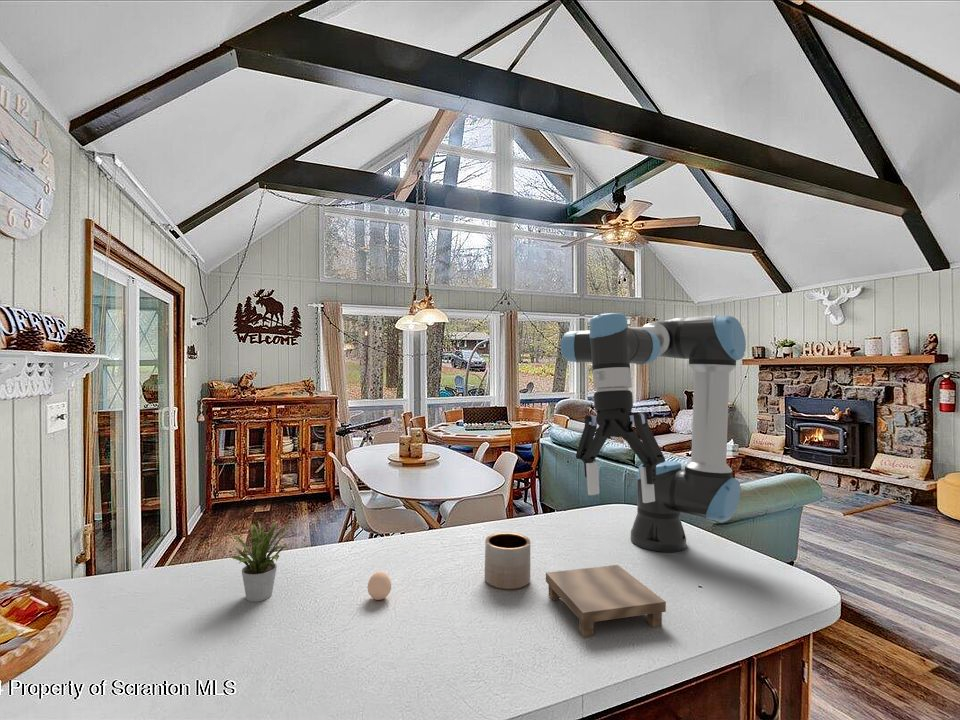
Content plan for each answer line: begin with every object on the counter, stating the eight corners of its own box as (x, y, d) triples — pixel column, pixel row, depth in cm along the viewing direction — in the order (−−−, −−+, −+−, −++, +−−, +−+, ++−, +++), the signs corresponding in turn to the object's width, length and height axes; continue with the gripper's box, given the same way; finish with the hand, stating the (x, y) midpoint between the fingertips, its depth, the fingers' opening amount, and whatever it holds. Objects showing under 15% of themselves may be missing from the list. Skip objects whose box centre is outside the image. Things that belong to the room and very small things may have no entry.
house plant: (313, 589, 113) (314, 517, 113) (263, 618, 101) (264, 537, 101) (267, 577, 119) (267, 508, 119) (214, 602, 107) (215, 526, 107)
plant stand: (617, 586, 117) (617, 564, 117) (665, 626, 100) (665, 601, 100) (545, 594, 112) (545, 572, 112) (582, 639, 95) (583, 612, 95)
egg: (365, 595, 111) (365, 569, 111) (388, 591, 113) (388, 565, 113) (369, 606, 106) (370, 578, 106) (393, 602, 108) (393, 574, 108)
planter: (527, 593, 113) (528, 551, 113) (480, 588, 115) (480, 546, 115) (532, 573, 124) (533, 534, 124) (488, 568, 126) (489, 530, 126)
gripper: (556, 394, 110) (561, 493, 107) (653, 385, 89) (663, 508, 87) (580, 393, 114) (586, 489, 112) (678, 385, 94) (688, 502, 91)
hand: (619, 498), depth 99 cm, fingers open, 13 cm apart
